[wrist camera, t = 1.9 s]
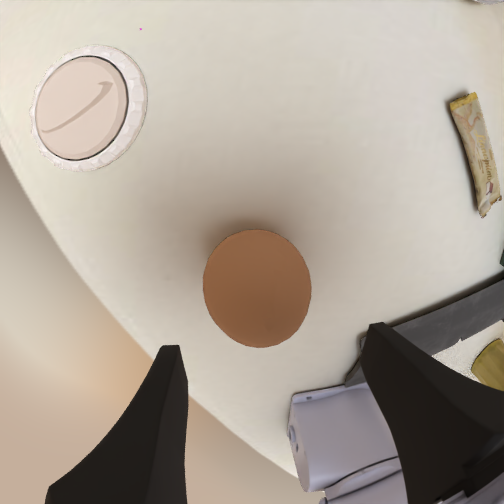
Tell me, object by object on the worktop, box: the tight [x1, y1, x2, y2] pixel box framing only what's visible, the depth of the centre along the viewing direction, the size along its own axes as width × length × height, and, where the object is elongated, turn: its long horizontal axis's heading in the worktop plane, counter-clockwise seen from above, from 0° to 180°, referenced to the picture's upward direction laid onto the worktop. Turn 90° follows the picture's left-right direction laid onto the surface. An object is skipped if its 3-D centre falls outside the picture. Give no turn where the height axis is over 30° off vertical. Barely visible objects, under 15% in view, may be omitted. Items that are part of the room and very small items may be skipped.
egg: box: [203, 229, 311, 348], centre depth 15 cm, size 5×5×7 cm
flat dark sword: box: [344, 279, 504, 388], centre depth 23 cm, size 7×35×2 cm, turn 103°
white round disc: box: [29, 45, 147, 171], centre depth 12 cm, size 7×7×2 cm
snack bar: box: [450, 92, 502, 218], centre depth 16 cm, size 10×2×3 cm
